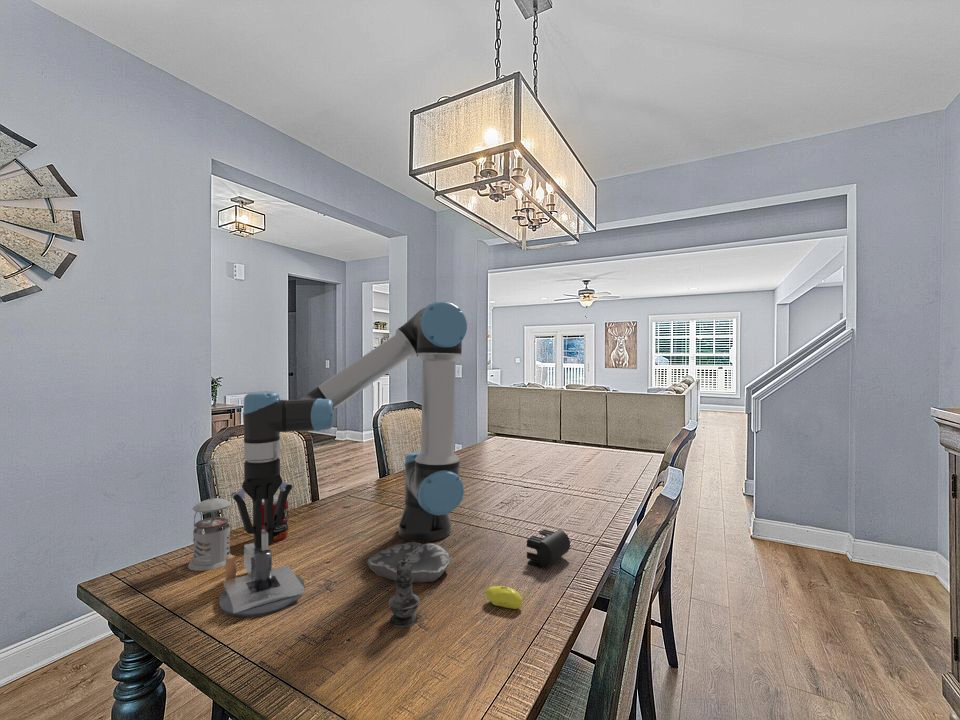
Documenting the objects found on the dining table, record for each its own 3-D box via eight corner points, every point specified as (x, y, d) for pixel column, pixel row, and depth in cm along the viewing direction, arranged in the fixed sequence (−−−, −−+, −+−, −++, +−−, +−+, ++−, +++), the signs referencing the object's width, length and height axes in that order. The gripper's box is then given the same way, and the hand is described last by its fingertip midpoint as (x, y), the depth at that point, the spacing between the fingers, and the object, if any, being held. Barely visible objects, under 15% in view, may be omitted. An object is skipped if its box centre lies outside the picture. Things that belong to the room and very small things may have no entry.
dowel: (237, 580, 101) (238, 556, 101) (231, 584, 99) (231, 559, 99) (230, 579, 102) (230, 555, 102) (223, 583, 100) (223, 559, 100)
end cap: (551, 573, 106) (551, 544, 106) (525, 565, 110) (525, 537, 110) (570, 558, 114) (570, 532, 114) (545, 551, 118) (545, 525, 118)
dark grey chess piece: (390, 611, 89) (390, 550, 89) (420, 610, 90) (420, 549, 90) (386, 629, 83) (387, 564, 83) (418, 627, 84) (419, 563, 84)
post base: (318, 581, 101) (318, 541, 101) (272, 621, 85) (272, 574, 85) (255, 574, 104) (255, 535, 104) (200, 612, 89) (200, 566, 89)
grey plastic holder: (304, 592, 94) (304, 568, 94) (233, 613, 86) (233, 587, 86) (280, 557, 110) (280, 537, 110) (219, 572, 102) (219, 550, 102)
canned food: (277, 544, 121) (277, 503, 121) (250, 541, 123) (251, 501, 123) (294, 533, 129) (294, 495, 129) (269, 531, 130) (269, 493, 130)
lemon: (517, 616, 88) (517, 596, 88) (481, 605, 92) (481, 586, 92) (525, 606, 92) (526, 586, 92) (490, 596, 96) (491, 577, 96)
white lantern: (200, 574, 104) (201, 466, 104) (176, 562, 110) (176, 460, 110) (242, 558, 112) (243, 458, 112) (217, 548, 119) (217, 453, 119)
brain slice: (460, 557, 115) (460, 545, 115) (441, 590, 98) (441, 577, 98) (387, 550, 119) (387, 539, 119) (357, 581, 102) (357, 568, 102)
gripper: (285, 451, 112) (286, 546, 112) (227, 460, 103) (228, 562, 104) (296, 457, 106) (297, 556, 107) (235, 466, 98) (237, 574, 98)
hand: (263, 559), depth 105 cm, fingers closed
